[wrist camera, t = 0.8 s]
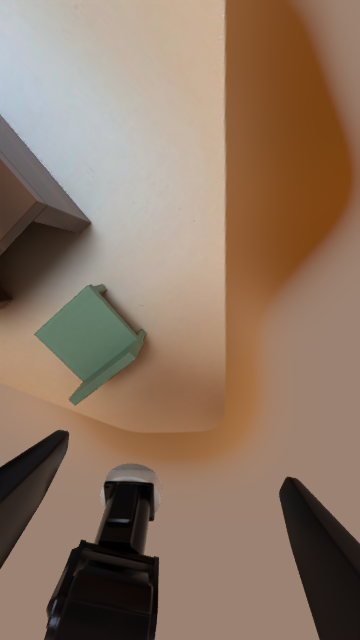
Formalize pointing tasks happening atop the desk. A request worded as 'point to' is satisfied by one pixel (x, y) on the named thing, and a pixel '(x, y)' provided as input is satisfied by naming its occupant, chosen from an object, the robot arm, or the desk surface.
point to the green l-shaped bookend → (91, 340)
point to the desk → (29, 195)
